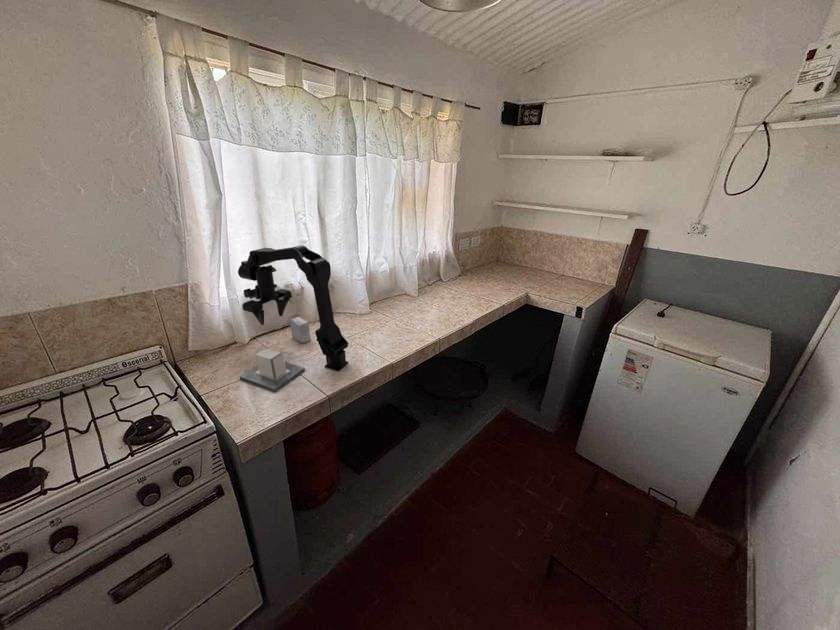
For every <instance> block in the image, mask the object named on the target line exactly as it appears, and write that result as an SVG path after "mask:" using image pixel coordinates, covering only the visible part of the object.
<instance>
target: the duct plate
mask: <svg viewBox="0 0 840 630" xmlns="http://www.w3.org/2000/svg"><path fill="white" fill-rule="evenodd" d="M285 366H286V372H284V373H283V374H281V375H280V376H278V377H277V378H275V377H273V376H270V375H267V374H264V373H261V372H259V368H258V365H256V366H254V367H253V368H251V369H249V370H248V371H246V372H244V373H242V374H241V375H239V380H241V381H244V382H247V383H249V384H251V385H254V386H256V387H260V388H263V389H266V390H267V391H271V392H272V393H276V392H278V391H279V390H280V389H281V388H283V387H284V386H286V385H287V384H289V383H290V382H291V381H293V380H295V378H297V377H298V376H300V375H301V374H302V373H304V372H306V368H305V367H303V366H300V365H297V364H294V363H290V362H288V361H285Z"/></svg>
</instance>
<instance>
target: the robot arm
mask: <svg viewBox="0 0 840 630" xmlns="http://www.w3.org/2000/svg"><path fill="white" fill-rule="evenodd" d="M304 259H305V260H304ZM285 260H294V261H295V262H296V265H297V267H298V269H299V270H300V271H302V272H303V273H304V275H305V277H306V280H307V282H308V283H309V284H310V285H311V286H312V289H313V293H314V298H315V304H316V311H317V314H318V319H319V324H320V325H319V328H318V329H315V336H316V342H318V345H319V348H320V349H321V350H320V351H321V352H322V355H323V356H325V361H326V364H325V365H324V368H327V369H329V370H333V371H336V372H340V371H341V370H342V369H344V367H346V366H347V365H349V363H350V362H349V361H348V360H346V350H345V349H346V348H348V347H349V344H350V343H349V341H348V340H347V339H346V338H345V337H344V335H342V332H341V331H342V330H341V329H340V326H338V325H337V324H336V322H335V319H334V317H335V316H334V311H333V308H332V307H333V305H332V301H331V293H330V290H329V281H330V278H331V277H332V273H331V264H330V262H329V261H328V259H326V258H325V257H323V256H322V255H321V254H319V253H318V252H314V251H313V250H310V248H308V247H307V246H306V245H303V244H302V245H301V244H300V245H297V246H293V247H285V248H278V249H277V248H276V249H274V248H271V247H263V248H258V249H254V250H251V251H249V255H248V258H247V260H243V261H241V262H240V266H238V267H239V268H238V271H237V274H238V276H239V278H241V279H243V280H248V281H252V282H253V281H254V282H256V285H254V288H253V289H251V288H246V289H243V295H244V297H245V299H250V300H248V301H246V302H244V303H242V305H241V306H242V310H243V311H244V312H248V313H252V314H253V316H254V317H255V318H256V319H257V321H258V323H259V324H260V325H261V326H264V325H265V310H264V305H266V304H268V303H271V302H274V301H275V302H276V306H277V312H278V315H279V317H283V316H284V312H285V310H286V307H287V305H288V303H289V301H290V300H291V298H293V296H292V295H293V294H292V292H291V291H290V290H288V289H283V288H280V289H279V288H278V289H277V290H276V288H277V287H278V284H276V283H275V281H274V276H273V275H274V274H273V273H274V272H277V269H276V268H275V267H274V266H272V263H275V262H276V261H277V262H278V261H285ZM306 260H308V261H306ZM269 264H270V265H269ZM266 265H267V266H266ZM253 298H255V299H256V300H253Z"/></svg>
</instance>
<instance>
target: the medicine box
mask: <svg viewBox="0 0 840 630" xmlns="http://www.w3.org/2000/svg"><path fill="white" fill-rule="evenodd" d="M289 323H290V324H289V326H290V330H291V331H290V332H291V337H292V339H294V340H296V341H297V342H299V343H301V344H304V343H307V342H309V341H311V331H310V325H309V324H310V323H309V322H308V321H306V320H305V319H303V318H302V317H300V316H298V317H294V318H292V319H290V320H289Z"/></svg>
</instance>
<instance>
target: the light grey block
mask: <svg viewBox="0 0 840 630" xmlns="http://www.w3.org/2000/svg"><path fill="white" fill-rule="evenodd" d="M284 354H285V353H282V352H280V351H279V352H278V351H276V350H272V349H268V348H265V349H263V350H261V351H260V352H258V353H255V358H256V362H257V366H258V368H259V372H261V373H264V374H267V375H270V376H273V377H275V378H277V377H278V376H280V375H281V374H283V373H284V372H286V366H285V362H286V361H285V355H284Z"/></svg>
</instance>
